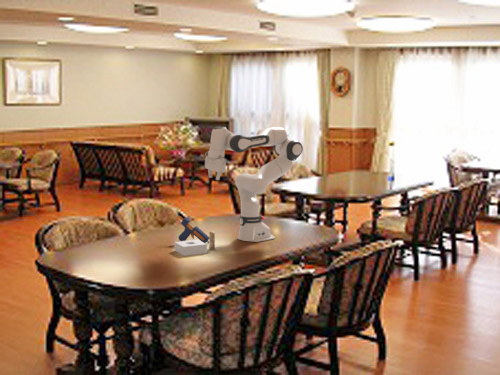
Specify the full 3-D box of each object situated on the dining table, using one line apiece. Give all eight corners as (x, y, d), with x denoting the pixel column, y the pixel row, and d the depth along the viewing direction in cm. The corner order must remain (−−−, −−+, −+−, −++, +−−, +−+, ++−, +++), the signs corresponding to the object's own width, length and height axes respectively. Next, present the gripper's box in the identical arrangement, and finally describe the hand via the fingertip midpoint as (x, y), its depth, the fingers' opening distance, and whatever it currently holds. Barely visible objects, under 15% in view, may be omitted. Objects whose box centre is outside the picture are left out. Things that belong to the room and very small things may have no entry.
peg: (213, 248, 374) (213, 231, 372) (215, 249, 371) (215, 232, 370) (208, 249, 373) (208, 231, 371) (210, 250, 370) (210, 232, 368)
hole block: (197, 248, 374) (197, 239, 373) (206, 253, 364) (206, 244, 363) (174, 250, 367) (174, 242, 367) (183, 255, 357) (183, 246, 356)
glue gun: (200, 257, 386) (212, 242, 382) (166, 230, 388) (178, 215, 384) (202, 255, 391) (214, 240, 387) (169, 228, 392) (181, 213, 389)
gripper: (229, 157, 372) (226, 181, 373) (213, 153, 389) (211, 176, 391) (219, 156, 369) (216, 181, 370) (204, 152, 386) (201, 176, 388)
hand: (213, 178), depth 381 cm, fingers open, 8 cm apart
